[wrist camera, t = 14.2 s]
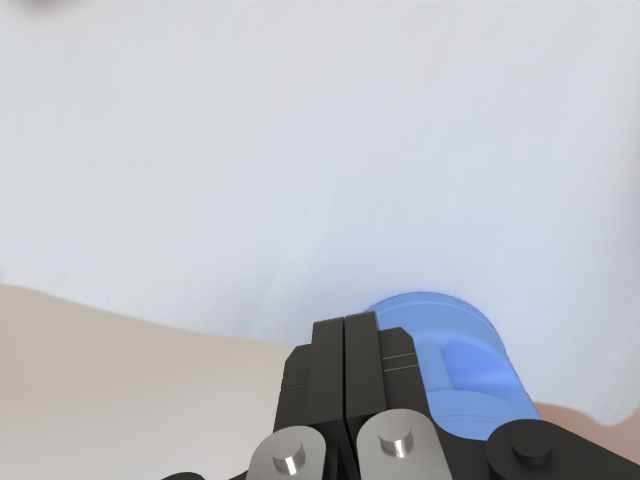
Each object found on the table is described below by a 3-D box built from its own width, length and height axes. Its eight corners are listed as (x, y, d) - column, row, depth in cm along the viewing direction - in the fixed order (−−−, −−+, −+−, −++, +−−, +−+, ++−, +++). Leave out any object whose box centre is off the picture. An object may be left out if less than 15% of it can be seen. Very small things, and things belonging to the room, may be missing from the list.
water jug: (501, 416, 51) (668, 810, 25) (347, 429, 52) (353, 814, 26) (499, 279, 45) (713, 600, 19) (327, 297, 47) (309, 620, 21)
